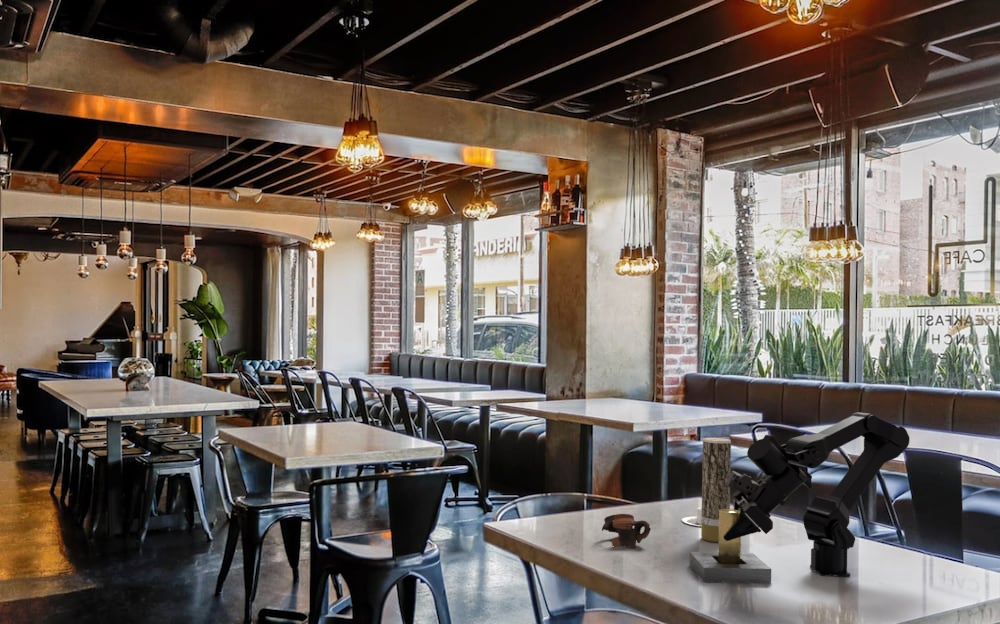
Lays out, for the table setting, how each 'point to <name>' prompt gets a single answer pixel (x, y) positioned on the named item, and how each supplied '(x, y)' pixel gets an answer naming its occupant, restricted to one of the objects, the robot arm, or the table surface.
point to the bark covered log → (714, 484)
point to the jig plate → (730, 568)
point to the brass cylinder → (731, 548)
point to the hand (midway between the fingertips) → (723, 536)
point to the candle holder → (698, 517)
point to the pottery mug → (626, 529)
